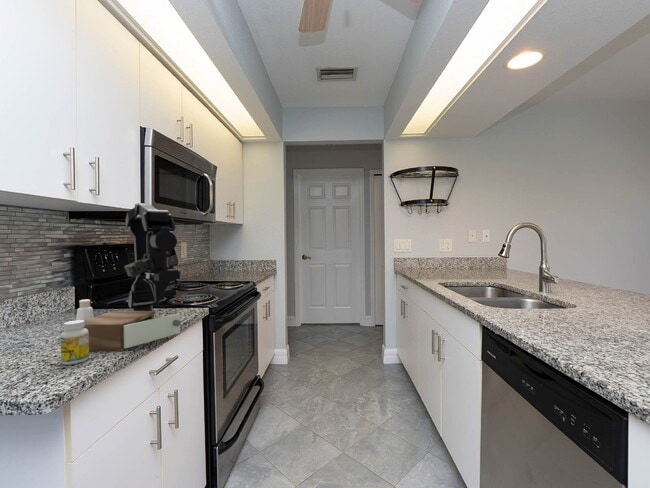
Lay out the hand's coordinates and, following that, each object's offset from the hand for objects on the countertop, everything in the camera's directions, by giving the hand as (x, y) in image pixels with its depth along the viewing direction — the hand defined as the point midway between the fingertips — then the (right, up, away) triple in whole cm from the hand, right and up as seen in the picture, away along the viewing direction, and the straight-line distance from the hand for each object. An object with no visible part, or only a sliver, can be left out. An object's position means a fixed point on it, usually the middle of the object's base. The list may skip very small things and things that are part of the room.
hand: (157, 301), depth 95 cm
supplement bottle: (-10, -11, -19) cm, 24 cm away
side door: (+2, -10, -6) cm, 12 cm away
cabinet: (-10, -11, -4) cm, 15 cm away
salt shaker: (-24, -11, +2) cm, 26 cm away
